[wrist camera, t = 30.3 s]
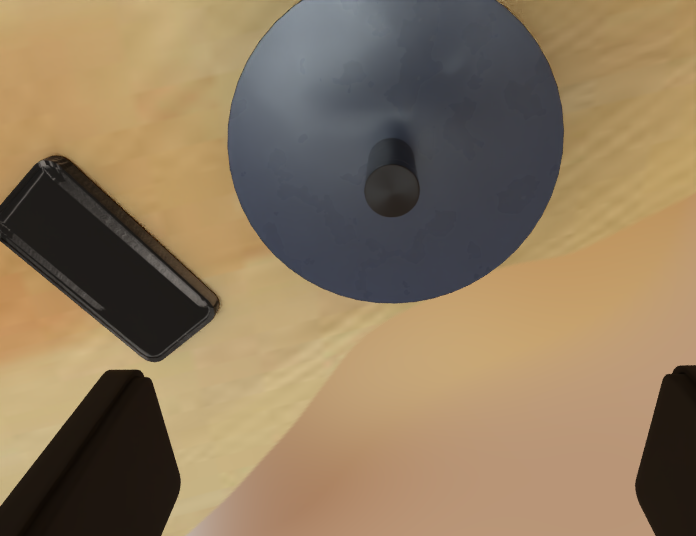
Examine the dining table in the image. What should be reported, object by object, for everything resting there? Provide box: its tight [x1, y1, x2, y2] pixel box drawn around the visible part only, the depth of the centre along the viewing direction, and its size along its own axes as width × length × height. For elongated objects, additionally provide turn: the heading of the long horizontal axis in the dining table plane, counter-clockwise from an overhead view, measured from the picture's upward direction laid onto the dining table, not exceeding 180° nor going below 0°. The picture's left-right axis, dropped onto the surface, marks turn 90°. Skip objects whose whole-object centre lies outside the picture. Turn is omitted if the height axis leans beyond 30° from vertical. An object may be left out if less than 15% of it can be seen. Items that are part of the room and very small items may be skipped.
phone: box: [0, 156, 219, 362], centre depth 36 cm, size 8×1×15 cm
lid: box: [228, 0, 564, 303], centre depth 25 cm, size 17×17×6 cm
